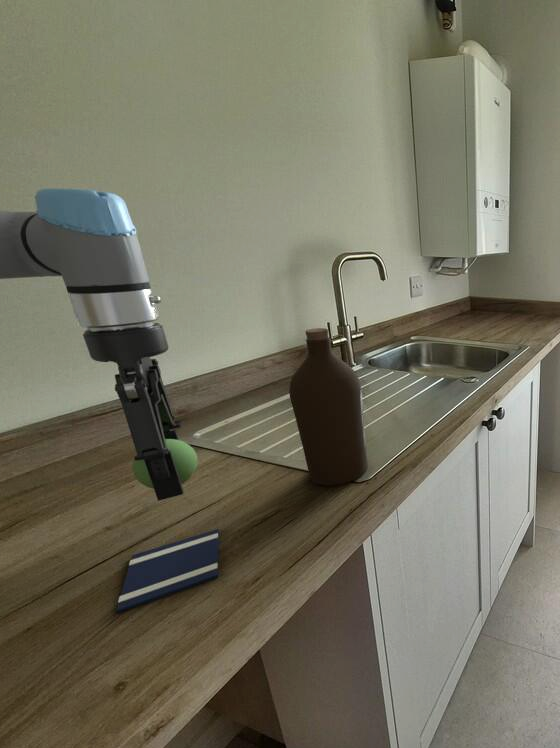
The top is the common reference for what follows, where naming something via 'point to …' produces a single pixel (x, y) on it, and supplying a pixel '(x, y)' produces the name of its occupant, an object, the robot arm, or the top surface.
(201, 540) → the towel
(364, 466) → the olive oil
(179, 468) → the mango
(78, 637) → the top surface
